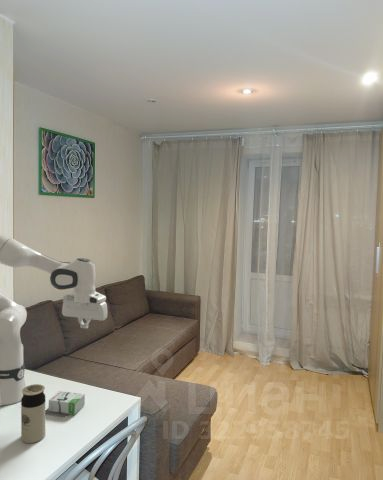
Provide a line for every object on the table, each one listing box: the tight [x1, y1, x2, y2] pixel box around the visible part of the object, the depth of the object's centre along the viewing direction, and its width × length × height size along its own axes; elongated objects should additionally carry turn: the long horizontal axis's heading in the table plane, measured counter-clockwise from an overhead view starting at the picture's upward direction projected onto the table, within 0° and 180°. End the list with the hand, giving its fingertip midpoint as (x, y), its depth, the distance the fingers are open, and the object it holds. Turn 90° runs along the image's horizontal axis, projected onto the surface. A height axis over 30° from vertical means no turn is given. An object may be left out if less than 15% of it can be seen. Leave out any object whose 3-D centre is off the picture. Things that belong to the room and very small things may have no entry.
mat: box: [45, 408, 69, 418], centre depth 156 cm, size 10×13×1 cm
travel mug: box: [20, 384, 46, 444], centre depth 135 cm, size 8×8×18 cm
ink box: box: [47, 390, 86, 415], centre depth 155 cm, size 9×5×12 cm
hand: (84, 327), depth 162 cm, fingers closed
